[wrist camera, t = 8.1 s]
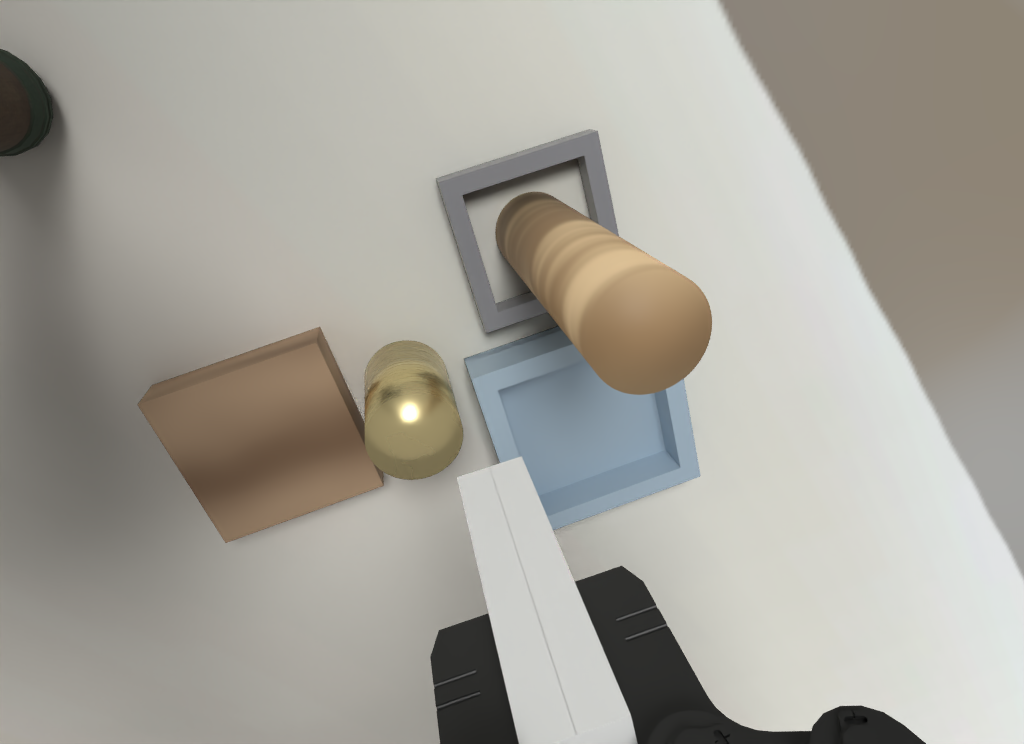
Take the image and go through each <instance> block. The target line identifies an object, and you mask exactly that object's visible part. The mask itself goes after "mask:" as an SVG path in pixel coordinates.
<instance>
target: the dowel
mask: <svg viewBox="0 0 1024 744" xmlns="http://www.w3.org/2000/svg"><path fill="white" fill-rule="evenodd" d="M496 241H497V245H498V247H499V249H500V251H501V253H502V254H503V256H504V257H505V258H506V260H507V261H508V262H509V263H510V265H511V266H512V267H513V269H514V270H515V271H516V272H517V274H518V275H519V276H520V277H521V279H522V280H523V281H524V282H525V284H526V285H527V286H528V288H529V289H530V290H531V291H532V293H533V294H534V295H535V296H536V298H537V299H538V300H539V301H540V303H541V304H542V305H543V307H544V308H545V309H546V310H547V312H548V313H549V314H550V315H551V317H552V318H553V319H554V320H555V322H556V323H557V324H558V326H559V327H560V328H561V329H562V331H563V332H564V333H565V334H566V336H567V337H568V338H569V340H570V341H571V342H572V343H573V345H574V346H575V347H576V348H577V350H578V351H579V352H580V353H581V355H582V356H583V357H584V359H585V360H586V361H587V362H588V364H589V365H590V366H591V367H592V369H593V370H594V371H595V372H596V374H597V375H598V376H599V377H600V378H601V379H602V381H603V382H605V383H606V384H607V385H608V386H610V387H612V388H613V389H615V390H618V391H620V392H623V393H627V394H634V395H646V394H652V393H656V392H660V391H662V390H665V389H667V388H669V387H671V386H673V385H675V384H677V383H678V382H679V381H681V380H682V379H684V378H685V377H686V376H687V375H688V374H689V373H690V372H691V371H692V370H693V369H694V368H695V367H696V365H697V364H698V363H699V361H700V360H701V358H702V356H703V355H704V353H705V350H706V348H707V346H708V343H709V340H710V335H711V330H712V316H711V310H710V306H709V303H708V301H707V299H706V297H705V295H704V293H703V292H702V291H701V289H700V288H699V287H698V286H697V285H696V284H695V283H694V282H693V281H691V280H690V279H688V278H687V277H685V276H683V275H682V274H680V273H678V272H677V271H675V270H673V269H672V268H670V267H668V266H667V265H665V264H663V263H662V262H660V261H658V260H657V259H655V258H654V257H652V256H650V255H649V254H647V253H645V252H644V251H642V250H640V249H639V248H637V247H635V246H634V245H632V244H630V243H629V242H627V241H625V240H624V239H622V238H620V237H619V236H617V235H616V234H614V233H612V232H611V231H609V230H607V229H606V228H604V227H602V226H601V225H599V224H597V223H596V222H594V221H592V220H591V219H589V218H587V217H586V216H584V215H582V214H581V213H579V212H578V211H576V210H574V209H573V208H571V207H569V206H568V205H566V204H564V203H563V202H561V201H559V200H558V199H556V198H554V197H553V196H551V195H549V194H546V193H542V192H528V193H524V194H521V195H519V196H517V197H515V198H514V199H512V200H511V201H510V202H509V203H508V204H507V205H506V206H505V207H504V208H503V210H502V211H501V213H500V215H499V217H498V220H497V224H496Z"/></svg>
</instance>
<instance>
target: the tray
mask: <svg viewBox="0 0 1024 744" xmlns="http://www.w3.org/2000/svg"><path fill="white" fill-rule="evenodd" d="M464 360H465V363H466V366H467V369H468V372H469V375H470V378H471V381H472V384H473V387H474V389H475V392H476V395H477V398H478V401H479V404H480V407H481V410H482V413H483V416H484V419H485V421H486V424H487V427H488V430H489V433H490V436H491V439H492V442H493V445H494V448H495V451H496V453H497V456H498V459H499V462H500V463H502V462H505V461H508V460H512V459H515V458H518V457H521V456H522V458H523V461H524V463H525V465H526V468H527V470H528V472H529V475H530V477H531V480H532V482H533V484H534V487H535V489H536V491H537V494H538V496H539V499H540V501H541V503H542V506H543V508H544V510H545V513H546V515H547V518H548V520H549V522H550V525H551V527H552V529H553V530H555V529H558V528H561V527H563V526H566V525H569V524H572V523H574V522H577V521H580V520H583V519H585V518H588V517H591V516H593V515H596V514H599V513H602V512H604V511H607V510H610V509H613V508H615V507H618V506H621V505H623V504H626V503H629V502H632V501H634V500H637V499H640V498H643V497H645V496H648V495H651V494H653V493H656V492H659V491H662V490H664V489H667V488H670V487H673V486H675V485H678V484H681V483H683V482H686V481H689V480H692V479H694V478H697V477H700V471H699V465H698V459H697V453H696V448H695V442H694V436H693V430H692V424H691V419H690V413H689V407H688V401H687V396H686V390H685V384H684V379H682V380H681V381H679V382H678V383H677V384H675V385H673V386H671V387H669V388H667V389H665V390H662V391H660V392H656V393H652V394H646V395H634V394H627V393H623V392H620V391H618V390H615V389H613V388H612V387H610V386H608V385H607V384H606V383H605V382H603V381H602V379H601V378H600V377H599V376H598V375H597V374H596V372H595V371H594V370H593V369H592V367H591V366H590V365H589V364H588V362H587V361H586V360H585V359H584V357H583V356H582V355H581V353H580V352H579V351H578V350H577V348H576V347H575V346H574V345H573V343H572V342H571V341H570V340H569V338H568V337H567V336H566V334H565V333H564V332H563V331H562V329H561V328H560V327H559V326H558V327H555V328H552V329H549V330H546V331H543V332H540V333H537V334H535V335H532V336H529V337H526V338H523V339H520V340H517V341H514V342H511V343H508V344H505V345H503V346H500V347H497V348H494V349H491V350H488V351H485V352H482V353H479V354H476V355H473V356H471V357H468V358H465V359H464Z"/></svg>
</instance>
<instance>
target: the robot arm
mask: <svg viewBox="0 0 1024 744" xmlns="http://www.w3.org/2000/svg"><path fill="white" fill-rule="evenodd" d="M457 480H458V484H459V489H460V493H461V497H462V501H463V506H464V510H465V514H466V519H467V523H468V527H469V531H470V536H471V540H472V544H473V549H474V553H475V557H476V561H477V566H478V570H479V574H480V579H481V583H482V587H483V591H484V596H485V600H486V604H487V609H488V614H485V615H483V616H480V617H477V618H474V619H471V620H468V621H465V622H462V623H459V624H456V625H453V626H451V627H448V628H445V629H442V630H439V632H438V635H437V638H436V641H435V645H434V648H433V651H432V654H431V666H432V675H433V683H434V687H435V689H434V692H435V701H436V707H437V719H438V727H439V736H440V744H926V743H925V742H923V741H922V740H921V739H920V738H919V737H917V736H916V735H915V734H914V733H913V732H911V731H910V730H909V729H908V728H907V727H905V726H904V725H903V724H901V723H900V722H898V721H896V720H895V719H893V718H892V717H890V716H888V715H887V714H885V713H884V712H881V711H877V710H874V709H871V708H867V707H864V706H840V707H837V708H835V709H833V710H830V711H828V712H826V713H823V715H822V716H821V717H820V718H819V719H818V721H817V722H816V723H815V724H814V725H813V728H812V731H792V732H770V731H759V730H754V729H751V728H748V727H745V726H741V725H740V724H738V723H736V722H734V721H732V720H731V719H729V718H727V717H726V716H725V715H724V714H722V713H721V712H720V711H719V710H718V709H717V708H716V707H715V706H714V704H713V703H712V702H711V700H710V699H709V698H708V696H707V695H706V693H705V691H704V689H703V687H702V686H701V684H700V682H699V680H698V678H697V677H696V675H695V673H694V671H693V670H692V668H691V666H690V664H689V662H688V661H687V659H686V657H685V655H684V653H683V652H682V650H681V648H680V646H679V645H678V643H677V641H676V639H675V637H674V636H673V634H672V632H671V630H670V629H669V627H668V626H667V624H666V621H665V620H664V618H663V616H662V614H661V612H660V611H659V609H658V608H657V606H656V604H655V602H654V600H653V598H652V596H651V595H650V593H649V591H648V589H647V587H646V586H645V584H644V582H643V581H642V580H640V579H639V578H638V577H636V576H635V575H634V574H632V573H631V572H630V571H628V570H627V569H625V568H624V567H623V566H620V567H617V568H614V569H611V570H608V571H605V572H602V573H599V574H597V575H594V576H591V577H588V578H585V579H582V580H579V581H576V582H575V581H574V579H573V577H572V574H571V572H570V570H569V567H568V565H567V563H566V560H565V558H564V555H563V553H562V551H561V548H560V546H559V544H558V541H557V539H556V536H555V534H554V532H553V529H552V527H551V525H550V522H549V520H548V518H547V515H546V513H545V510H544V508H543V506H542V503H541V501H540V499H539V496H538V494H537V491H536V489H535V487H534V484H533V482H532V480H531V477H530V475H529V472H528V470H527V468H526V465H525V463H524V461H523V458H522V456H521V457H518V458H515V459H512V460H508V461H505V462H502V463H499V464H496V465H493V466H490V467H487V468H484V469H481V470H478V471H474V472H471V473H468V474H465V475H462V476H459V477H457Z"/></svg>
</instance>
